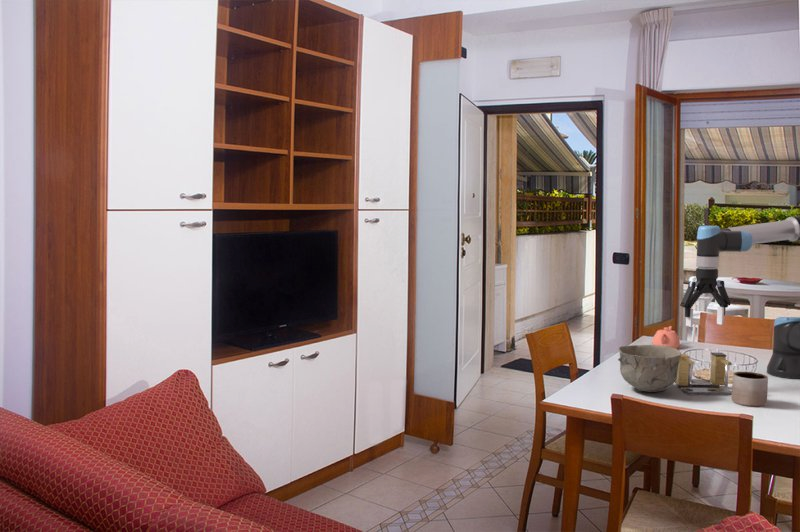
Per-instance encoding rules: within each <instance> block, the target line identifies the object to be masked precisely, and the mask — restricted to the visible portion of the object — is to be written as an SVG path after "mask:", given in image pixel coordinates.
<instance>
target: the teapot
mask: <svg viewBox="0 0 800 532" xmlns="http://www.w3.org/2000/svg"><path fill="white" fill-rule="evenodd" d="M672 327H673V326H671V325H669V326H668V327H667V326H666V327H663V329H658V330H657V331H655V333H654V336H653V338H652V343H651V345H657V346H668V347H672V348H675V349H677V350H678V348H679V347H680V345H681V342H680V337H679V336H678V334H677V332H676V331H675V330H672V329H673V328H672Z"/></svg>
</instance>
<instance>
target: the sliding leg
mask: <svg viewBox="0 0 800 532" xmlns="http://www.w3.org/2000/svg"><path fill="white" fill-rule="evenodd" d="M710 355H711V357H710V376H709V377H710V378H709V383H710V384H714V385H720V386H724V388H729V386H728V385H729V369H730V367H729V366H732V364H733V363H732V362H731V361H729V360H727V354H725V353H723V352H715V351H713V352H710Z"/></svg>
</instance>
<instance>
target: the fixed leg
mask: <svg viewBox="0 0 800 532" xmlns="http://www.w3.org/2000/svg"><path fill="white" fill-rule="evenodd" d="M681 354H682V355H681V357H680V360H679V364H678V370H677V379H676V380H675V382H674V384H675V385H676V384H678V385H679V386H688V387H691V383H692V379H691V373H692V374H693V372H692V365H693V366H694V365H695V361H693V360H692V359H690V358H691V357H690V355H688V354H687V353H681Z"/></svg>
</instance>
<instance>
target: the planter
mask: <svg viewBox="0 0 800 532" xmlns="http://www.w3.org/2000/svg"><path fill="white" fill-rule="evenodd" d="M768 385H769V376H768V375H765V374H763V373H759V372H752V371H735V372H733V373H732V385H731V391H732V395H730V396H731V401H732V402H733V403H734V404H737V405H740V406H744V407H751V408H752V407H753V408H758V407H759V408H760V407H761V408H762V407H765V406H766V405H767V403H768Z"/></svg>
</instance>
